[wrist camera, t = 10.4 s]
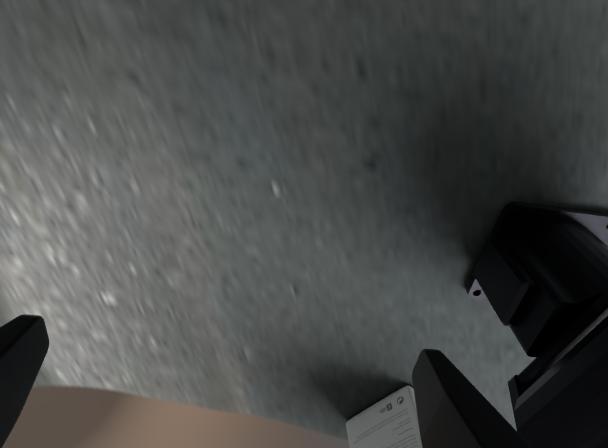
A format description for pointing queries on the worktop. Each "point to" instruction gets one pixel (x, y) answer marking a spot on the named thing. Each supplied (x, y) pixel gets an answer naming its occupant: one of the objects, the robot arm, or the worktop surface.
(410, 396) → the skincare box
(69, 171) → the worktop surface
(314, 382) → the worktop surface
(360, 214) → the worktop surface
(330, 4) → the worktop surface
